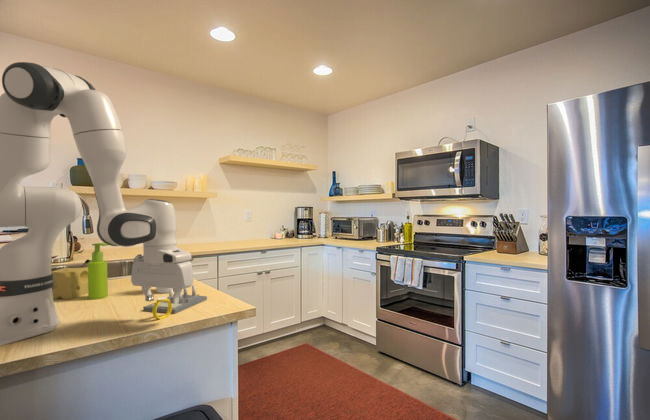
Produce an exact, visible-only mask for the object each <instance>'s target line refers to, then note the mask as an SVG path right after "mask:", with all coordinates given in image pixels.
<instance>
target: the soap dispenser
mask: <svg viewBox="0 0 650 420" xmlns="http://www.w3.org/2000/svg"><path fill="white" fill-rule="evenodd" d="M91 246H93V247H94V251H93V252H91V260H92V261H91V262H88V293H87V294H88V300H102V299H106V298H108V294H109V293H108V287H109V286H108V283H109V282H108V260H104V251H102V250H101V246H103V247H107V246H109V245H108V244H106V243H104V242H99V243H98V242H97V243H91Z"/></svg>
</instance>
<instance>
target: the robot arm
mask: <svg viewBox="0 0 650 420" xmlns="http://www.w3.org/2000/svg"><path fill="white" fill-rule="evenodd" d="M1 84H2V88H3V91H4V92H2V94H1V95H0V228H12V227H13V228H15V227H18V228H19V227H25V228H27V229H28V230H27V233H26V234H25V235H22V237H19V238H16V239H14V240H11V241H9V242H7V243H5V244H4V245H2V246H1V247H0V346H3V345H8V344H10V343H14V342H17V341H22V340H26V339H28V338H29V339H30V338H32V337H35V336H39V335H43V334H46V333H49V332H53V331H55V329H56V327H57V326H58V325H59V324H60V319H59V316H58V314H57V313H58V312H57V310H56V306H55V301H54V300H55V299H53V293H52V291H53V287H54V280H53V274H51V271H52V258H53V257H52V256H53V248H54V244H55V242H56V240H57V238H58V237H59V235H60V234H61V233H62V231H63V230H64V229H66V227H68V226H69V225H71V224H72V223H73V222H74V223H75V221H76V220H77V219H78V218H79V217H80V216H81V213H82V209H83V203H82V200H81V198H80V196H79V195H78V194H77V193H76V192H75V191H74V190H71V189H67V188H60V187H54V186H24V185H21V184H20V183H21V182H22V180H23V179H25V178H26V177H29V176H32V175H35V174H38V173H41V172H43V171H45V170H46V169H47V168H48V167H49V166H50V164H51V143H52V142H51V139H52V138H51V133H52V132H51V125H52V124H51V123H52V120H53V119H54V118H55V117H56V116H58V115H59V116H60V117H62V118H66V119H67V120H68V122H69V125H70V129H71V133H72V136H73V139H74V143H75V145H76V147H77V150H78V152H79V155H80V157H81V159H82V162H83V163H84V166H85V169H86V170H87V173H88V175H89V177H90V180H91V183H92V186H93V191H94V195H95V199H96V203H97V207H98V213H99V214H98V220H97V224H96V233H97V236H98V238H99V240H101V241H102V243H106V244H108V245H107V246H111V247H125V248H127V247H128V248H129V247H134V246H136V245H139V244H143V247H142V248H143V254H137V255H136V256H135V257H134V258H133V263H132V267H131V275H130V277H131V278H130V279H131V281H130V282H131V284H132V285H133V286H135V287H141V291H142V294H143V295H144V299H145V302H150V303H151V302H153V301H154V300H155V295H154V294H153V293H152V290H151V289H152V288H156V287H161V288H173V297H171V298H170V300H171V301H170V303H171V304H176V303H178V302H179V296H180V294H181V292H182V293H183V290H184V289H185V288H187V289H188V288H190V287H191V288H192V285H194V269H193V265H192V262H190V261H191V259H192V253H191V252H189V251H186V250H184V249H182V248H180V247H178V242H177V239H176V232H177V217H176V216H177V215H176V211H175V207H174V204H172V203H171V202H169V201H167V200H162V199H157V198H155V199H154V198H148V199H145V200H144V201H143V202H141V203H140V204H138V205H136V206H133V207H131V208H128V209H126V207H125V202H124V200H123V196H122V191H121V187H120V186H121V185H120V182H119V181H120V180H119V178H120V172H121V169H122V166H123V164H124V162H125V160H126V158H127V147H126V139H125V138H126V137H125V135H124V131H123V128H122V125H121V121H120V118H119V117H118V114H117V111H116V109H115V107H114V105H113V103H112V101H111V98H109V96H108V95H107V94H106V93H104V92H102V91H99V90H96V88H95V86H93V85H92V84H91V82H89V81H88V80H87V79H84V78H83V77H81V76H78V75H76V74H75V75H74V74H73V73H70V72H69V71H65V70H62V69H59V68H55V67H49V66H44V65H41V64H37V63H35V62H27V61H19V62H13V63H11V64H10V65H8V66H7V67H6V68H4V71H3V73H2V77H1Z"/></svg>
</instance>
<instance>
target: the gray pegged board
mask: <svg viewBox="0 0 650 420" xmlns="http://www.w3.org/2000/svg"><path fill="white" fill-rule="evenodd" d="M173 295H174V292H173V289H170V290H169V293H168V296H166V297H167V299H169V300H170V298H171V297H173ZM207 300H208V296H207V295H200V294H197V288H196V284H192V285H191V294H188V288H185V289H183V291H182V292H181V294H180V296H179V302H178V303H176V304H172V311H171V313H170V314H172V315H173V314H174V315H175V314H178V313H180V312H182V311H185V310H187V309H189V308H191V307H193V306H195V305H196V306H197V305H198V304H200V303H203V302H204V301H207ZM170 301H171V300H170ZM155 303H156V302H153V303H151V304H148V305H145V306H143V312H152V311H153V306H154V304H155ZM167 310H168V303H167V301H164V302H160V303H159V305H158V307H157V312H156V313H163V314H164V313H165V314H166V313H167Z"/></svg>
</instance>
